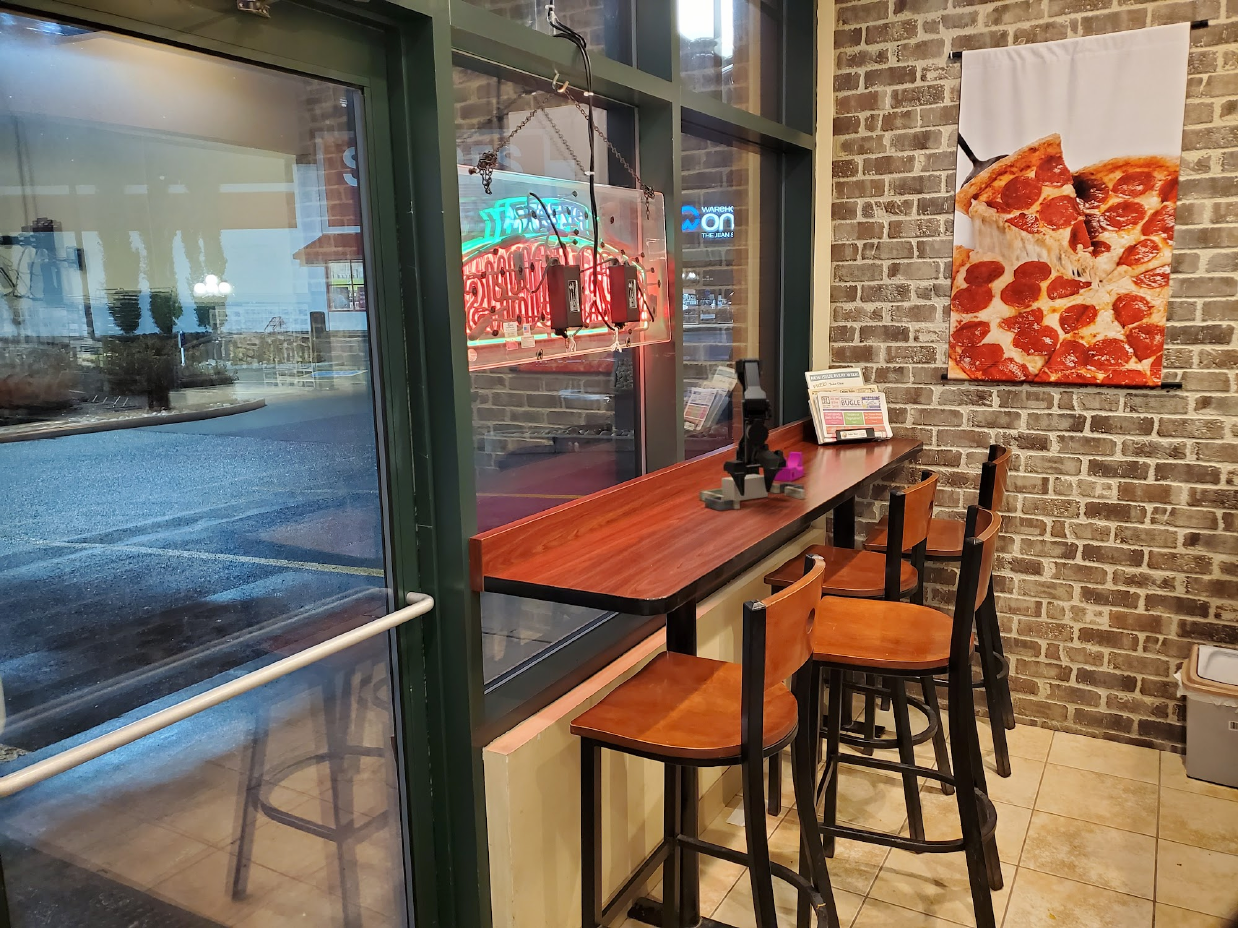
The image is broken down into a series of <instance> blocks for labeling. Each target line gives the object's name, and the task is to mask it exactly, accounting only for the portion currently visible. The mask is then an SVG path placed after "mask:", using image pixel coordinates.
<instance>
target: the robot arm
mask: <svg viewBox="0 0 1238 928" xmlns="http://www.w3.org/2000/svg"><path fill="white" fill-rule="evenodd" d="M763 373H764V360H762V359H759V358H758V357H745V358H738V360H735V361H734V374H735V375H736V381H737V383H738V384H739V385H740V387H741V403H740V404H741V405H740V406H741V407H740V409H741V410H740V411H741V419H742V420H741V421H742V422H741V423H742V424H741V425H742V429H741V430H742V432H741V433H742V435H741V437H740V439H739V440H738V441H737V448H735V453H734V459H733V460H726V461H724V463H723V472H726V473H727V474H729V476H730V477H732V478H733V480H734V482H735V484H736V486H737V488H738V490H739V492H740V495H741V496H744V492H745V477H746V475H751V474H757V475H761V474H760V468H762V473H763V476H764V481H765V488H766V492H768V493H771V492H770V490H771V487H772V484H773V483H774V481H775V480H774V479H775V476H776V474H777V473H778V472H779V471H781V470H783V467H786V460H785V458H786V457H784V451H783V450H782V449H775V450H770V448H769V447H770V446H769V443H766V441H767V440H768V438H769V435H770V433H769V428H767V426H766V422H767V421H769V422H770V421H771V418H772V417H773V412H772V404H771V402H770V400H769V399H768V398H767V394H766V392H765V390H763V389H762V387H761V380H760V379H761V374H763Z"/></svg>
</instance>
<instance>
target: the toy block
mask: <svg viewBox="0 0 1238 928" xmlns="http://www.w3.org/2000/svg"><path fill="white" fill-rule="evenodd" d="M784 458H785V460H786V467H783V470H781V471H779V472H778V473H777V474H776V476H775V479H774V481H779V482H793V481H795V480H797V479H799V478H803V477H804V475H805V474H804V471H805V469H804V468H805V467H804V466H803V452H801V451H799V452H798V451H797V452H795V451H790V452H789V454H788V459H787V457H784Z"/></svg>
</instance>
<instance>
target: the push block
mask: <svg viewBox="0 0 1238 928" xmlns="http://www.w3.org/2000/svg"><path fill="white" fill-rule="evenodd" d="M721 488H722V495H723V496H725V500H726V499H733V498H735V499H739V500H740V501H746V500H753V499H760V498H767V497H768V492H766V488H765V481H764V474H763V475H762V474H760V475H757V474H751V475H746V477H745V492H744V496H741V495H740V492H739V490H738V488H737V486H736V484H735V482H734V480H733V478H732V477H731V476H730V477H722V478H721Z"/></svg>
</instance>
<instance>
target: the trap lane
mask: <svg viewBox="0 0 1238 928" xmlns="http://www.w3.org/2000/svg"><path fill="white" fill-rule="evenodd" d="M804 487H805V485H803V484H800V483H799V484H798V483H794V482H790V481H785V482H780V483H774V482H773V484H772V487H771V490H770V492H769V493H772V494H781V493H784V496H785V497H790V498H794V499H799V500H802V499H803V500H804V499H805V498H806V496H805V495H806V493H805V492H806V491H805V488H804ZM698 494H699V496H698V497H699V499H698V500H700V501H703V502H704V507H705V508H709V509H713V510H715V511H726V510H727V511H728V510H732V509H733V510H738V509H739V510H740V509H741V508H740V505H741V504H740V503H741V502H740V501H741V500H739V499H735V498H733V499H725V496H723V495H722V487H720V488H713V489H712V488H711V489H706V490H705V489H704V490H700V491H699V493H698Z"/></svg>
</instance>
